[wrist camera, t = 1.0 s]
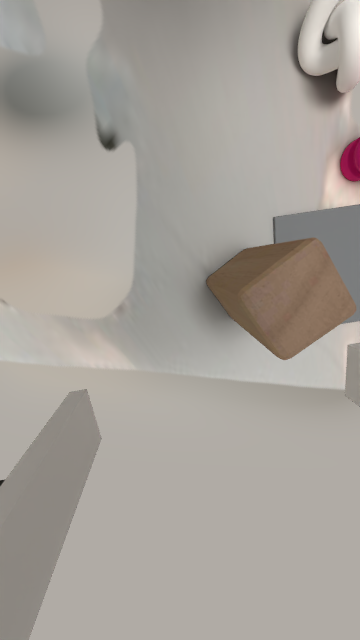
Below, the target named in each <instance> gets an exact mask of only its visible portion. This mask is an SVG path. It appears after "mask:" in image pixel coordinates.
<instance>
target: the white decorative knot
mask: <svg viewBox="0 0 360 640" xmlns="http://www.w3.org/2000/svg"><path fill="white" fill-rule="evenodd" d="M339 1H340V0H312V2H311V4H310V6H309V9H308V11H307V13H306V15H305V18H304V21H303V25H302V28H301V31H300V36H299V41H298V59H299V63H300V65H301V67H302V69H303V70H304V71H305V72H306V73H307V74H309V75H312V76H319V75H323V74H326V73H329V72H331V71H334V70H336V69H338V72H337V78H336V86H337V90H338V91H340V92H341V93H345V92H349V91H350V90H352V89H353V88H354V87H355V86H356V84H357V83H358V82H359V80H360V0H345V1H344V2H342V3H341V4H339V5H338V6H336V5H337V3H338V2H339ZM335 6H336V7H335ZM334 7H335V8H334ZM323 30H324V35H325V37H326V38H327V39H328V40H335V39H336V38H338V39H337V40H336V41H334V42H332V43H331V44H327V45H324V44H322V34H323Z"/></svg>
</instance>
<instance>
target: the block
mask: <svg viewBox="0 0 360 640" xmlns="http://www.w3.org/2000/svg"><path fill="white" fill-rule="evenodd" d="M206 282H207V286H208V287H209V288H210V290H211V291H212V292H213V294H214V295H215V296H216V298H217V299H218V300H219V302H220V303H221V305H222V306H223V307H224V309H225V310H226V311H227V313H228V314H229V315H230V317H231V318H232V319H233V320H234V321H236V322H237V323H238V324H239V325H240V326H241V327H243V328H244V329H245V330H246V331H247V332H249V333H250V334H251V335H252V336H253V337H254V338H256V339H257V340H258V341H259V342H260V343H261V344H263V345H264V346H265V347H266V348H267V349H269V350H270V351H271V352H272V353H273V354H274V355H276V356H277V357H279V358H280V359H282V360H287V359H290V358H292V357H293V356H295V355H296V354H298V353H299V352H301V351H302V350H303V349H305V348H306V347H308V346H309V345H311V344H312V343H313V342H315V341H316V340H318V339H319V338H321V337H322V336H324V335H325V334H326V333H328V332H329V331H331V330H332V329H334V328H335V327H337V326H338V325H339V324H341V323H342V322H344V321H345V320H347V319H348V318H349V317H351V316H352V315H354V313H355V312H356V304H355V302H354V300H353V299H352V297H351V295H350V293H349V291H348V289H347V288H346V286H345V284H344V282H343V280H342V278H341V277H340V275H339V273H338V271H337V269H336V267H335V265H334V264H333V262H332V260H331V258H330V256H329V254H328V253H327V251H326V249H325V247H324V245H323V243H322V242H321V241H320V240H318V239H317V238H314V237H313V238H307V239H301V240H295V241H289V242H283V243H277V244H271V245H265V246H259V247H253V248H247V249H244V250H243V251H241V252H240V253H239V254H238V255H236V256H235V257H234V258H232V259H231V260H230V261H229V262H227V263H226V264H225V265H223V266H222V267H221V268H220V269H218V270H217V271H216V272H215V273H213V274H212V275H211V276H209V277H208V279H207V280H206Z"/></svg>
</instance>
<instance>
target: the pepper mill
mask: <svg viewBox="0 0 360 640" xmlns="http://www.w3.org/2000/svg"><path fill="white" fill-rule="evenodd" d="M340 165H341V171H342V174H343V175H344V176H345V178H347V179H348V180H350V181H360V137H359V138H358V139H356V140H355V141H353V142H352V143H351V144H349V145H348V146H347V148H346V149H345V150H344V152H343V154H342V157H341V163H340Z"/></svg>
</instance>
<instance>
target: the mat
mask: <svg viewBox="0 0 360 640" xmlns="http://www.w3.org/2000/svg"><path fill="white" fill-rule="evenodd" d="M273 221H274V244H277V243H283V242H289V241H295V240H301V239H307V238H313V237H314V238H317V239H318V240H320V241H321V242H322V243H323V245H324V247H325V249H326V251H327V253H328V254H329V256H330V258H331V260H332V262H333V264H334V265H335V267H336V269H337V271H338V273H339V275H340V277H341V278H342V280H343V282H344V284H345V286H346V288H347V289H348V291H349V293H350V295H351V297H352V299H353V300H354V302H355V304H356V312H355V313H354V315H352V316H351V317H349V318H348V319H347V320H345V321H344V322H342V323H341V324H343V323H350V322H356V321H360V204H359V205H352V206H346V207H339V208H332V209H325V210H318V211H312V212H305V213H298V214H291V215H284V216H278V217H273Z"/></svg>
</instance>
